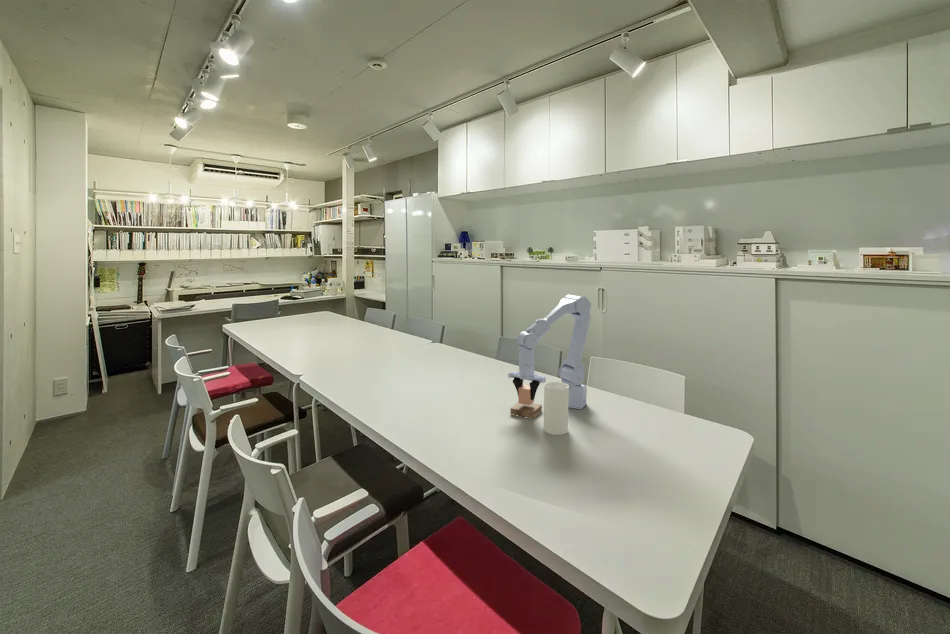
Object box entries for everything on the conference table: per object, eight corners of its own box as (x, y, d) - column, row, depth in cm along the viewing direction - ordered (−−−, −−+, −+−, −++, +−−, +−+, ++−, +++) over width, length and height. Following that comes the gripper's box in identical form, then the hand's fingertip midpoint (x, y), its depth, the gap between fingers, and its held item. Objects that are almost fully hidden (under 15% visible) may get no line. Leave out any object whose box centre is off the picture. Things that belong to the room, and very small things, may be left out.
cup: (564, 424, 144) (565, 381, 141) (570, 434, 136) (571, 389, 133) (541, 425, 144) (542, 381, 141) (546, 435, 136) (547, 389, 133)
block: (534, 401, 155) (534, 386, 154) (529, 405, 151) (529, 389, 150) (523, 399, 157) (523, 384, 156) (518, 403, 154) (518, 387, 153)
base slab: (541, 412, 157) (541, 404, 156) (532, 420, 149) (532, 412, 148) (520, 407, 161) (520, 400, 161) (510, 415, 154) (510, 408, 153)
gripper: (504, 363, 152) (504, 397, 154) (540, 368, 145) (540, 404, 147) (512, 359, 158) (512, 392, 160) (547, 364, 151) (547, 398, 153)
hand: (526, 398), depth 154 cm, fingers closed on block, 4 cm apart
